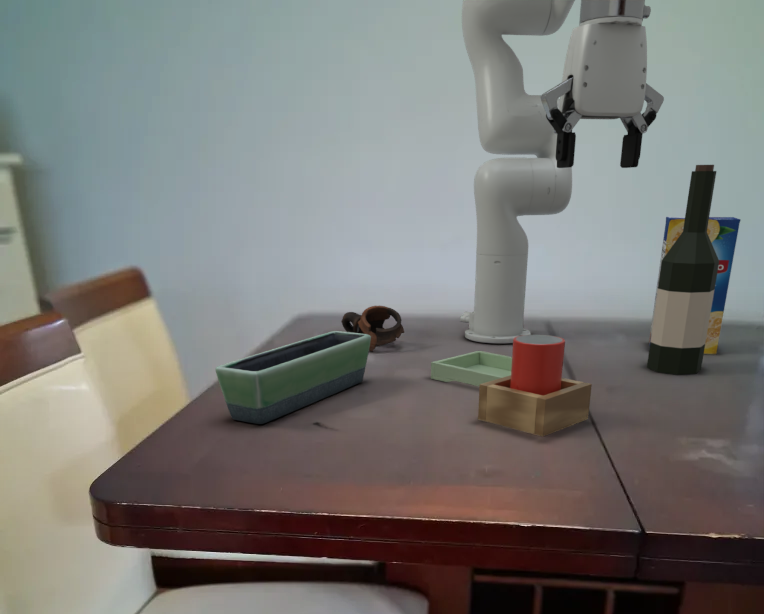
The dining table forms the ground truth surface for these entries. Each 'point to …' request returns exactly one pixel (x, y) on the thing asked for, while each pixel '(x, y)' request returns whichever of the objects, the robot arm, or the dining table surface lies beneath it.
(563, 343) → the can
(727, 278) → the beverage box
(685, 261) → the wine bottle
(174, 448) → the dining table surface
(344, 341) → the planter
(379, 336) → the pottery mug
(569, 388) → the box
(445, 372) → the tray
